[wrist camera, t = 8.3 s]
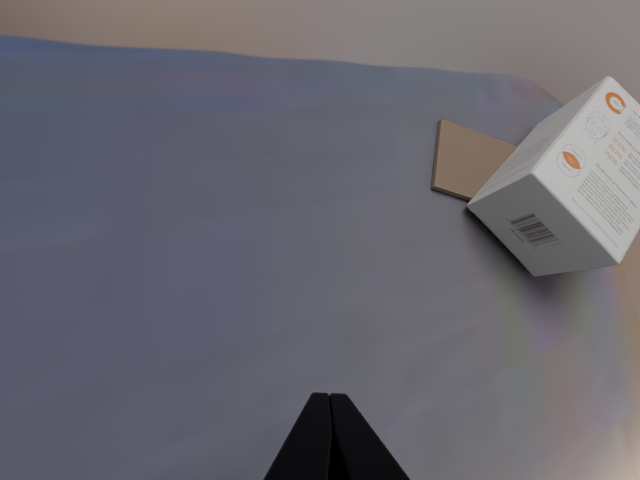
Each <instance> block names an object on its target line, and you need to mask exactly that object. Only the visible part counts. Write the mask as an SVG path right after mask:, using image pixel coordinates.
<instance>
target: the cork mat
mask: <svg viewBox="0 0 640 480" xmlns="http://www.w3.org/2000/svg"><path fill="white" fill-rule="evenodd" d="M516 148H517V146H515V145H512V144H509V143H506V142H504V141H501V140H498V139H496V138H493V137H490V136H488V135H485V134H482V133H480V132H477V131H474V130H472V129H469V128H466V127H463V126H461V125H458V124H455V123H453V122H450V121H447V120H445V119H441V120H440V121H439V122H438V128H437V137H436V146H435V155H434V164H433V173H432V182H431V189H434V190H437V191H440V192H443V193H446V194H449V195H452V196H456V197H459V198H462V199H465V200H468V201H470V200H471V199H472V198H473V197H474V196H475V195H476V194H477V192H478V191H479V190H480V189H481V188H482V187H483V186H484V185H485V183H486V182H487V181H488V180H489V179H490V178H491V176H492V175H493V174H494V173H495V172H496V171H497V170H498V168H499V167H500V166H501V165H502V164H503V163H504V162H505V161H506V159H507V158H508V157H509V156H510V155H511V154H512V153H513V152H514V150H515V149H516Z"/></svg>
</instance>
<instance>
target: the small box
mask: <svg viewBox="0 0 640 480" xmlns="http://www.w3.org/2000/svg"><path fill="white" fill-rule="evenodd" d="M467 207H468V208H469V209H470V211H471V212H473V213H474V214H475V215H476V216H477V217H478V218H479V219H480V220H481V221H482V222H483V223H484V224H485V225H486V226H487V227H488V228H489V229H490V230H491V231H492V232H493V233H494V234H495V235H496V237H497V238H498V239H499V240H500V241H501V242H502V243H503V244H504V245H505V246H506V247H507V248H508V249H509V250H510V251H511V252H512V253H513V254H514V255H515V256H516V258H517V259H518V260H519V261H520V262H521V263H522V264H523V265H524V266H525V267H526V268H527V270H528V271H529V272H530V273H531V274H532V275H533V276H535V277H537V276H543V275H551V274H558V273H565V272H572V271H579V270H586V269H593V268H600V267H606V266H613V265H618V264H620V263H621V261H622V259H623V257H624V255H625V254H626V252H627V250H628V248H629V247H630V245H631V243H632V241H633V239H634V237H635V236H636V234H637V232H638V230H639V229H640V105H639V104H638V103H637V102H636V101H635V100H634V99H633V98H632V97H631V96H630V95H629V94H628V93H627V92H626V91H625V90H624V89H623V88H622V87H621V86H620V85H619V84H618V83H617V82H616V81H615V80H614V79H613V78H612V77H609V76H607V77H605V78H604V79H602V80H601V81H599V82H598V83H596V84H595V85H594V86H592V87H591V88H589V89H588V90H587V91H585V92H583V93H582V94H581V95H579V96H578V97H576V98H575V99H573V100H572V101H570V102H569V103H567V104H566V105H565V106H563V107H562V108H560V109H559V110H557V111H556V112H554V113H553V114H551V115H550V116H549V117H547V118H546V119H544V120H543V121H541V122H540V123H538V125H537V126H536V127H535V128H534V129H533V130H532V131H531V132H530V134H529V135H528V136H527V137H526V138H525V139H524V140H523V141H522V143H521V144H520V145H519V146H518V147H517V148H516V149H515V150H514V152H513V153H512V154H511V155H510V156H509V157H508V158H507V159H506V161H505V162H504V163H503V164H502V165H501V166H500V167H499V168H498V170H497V171H496V172H495V173H494V174H493V175H492V176H491V178H490V179H489V180H488V181H487V182H486V183H485V185H484V186H483V187H482V188H481V189H480V190H479V191H478V192H477V194H476V195H475V196H474V197H473V198H472V199H471V200H470V202H469V203H468V204H467Z"/></svg>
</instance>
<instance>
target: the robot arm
mask: <svg viewBox="0 0 640 480" xmlns="http://www.w3.org/2000/svg"><path fill="white" fill-rule="evenodd" d="M263 480H410V479H409V477H408V476H407V475H406V473H405V472H404V471H403V469H402V468H401V467H400V465H399V464H398V463H397V461H396V460H395V459H394V457H393V456H392V455H391V453H390V452H389V451H388V449H387V448H386V447H385V445H384V444H383V442H382V441H381V440H380V438H379V437H378V436H377V434H376V433H375V432H374V430H373V429H372V428H371V426H370V425H369V424H368V422H367V421H366V420H365V418H364V417H363V416H362V414H361V413H360V412H359V410H358V409H357V408H356V406H355V405H354V404H353V402H352V401H351V400H350V398H349V397H348V396H347V395H346V394H341V393H331V394H330V396H329V395H328V393H317V392H314V393H312V394H311V396H310V397H309V399H308V401H307V403H306V405H305V406H304V408H303V410H302V412H301V414H300V415H299V417H298V419H297V421H296V422H295V424H294V426H293V428H292V430H291V431H290V433H289V435H288V437H287V438H286V440H285V442H284V444H283V446H282V447H281V449H280V451H279V453H278V454H277V456H276V458H275V460H274V462H273V463H272V465H271V467H270V469H269V471H268V472H267V474H266V476H265V478H264V479H263Z"/></svg>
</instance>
